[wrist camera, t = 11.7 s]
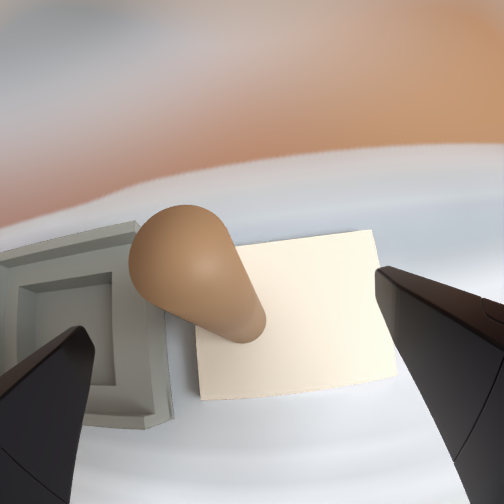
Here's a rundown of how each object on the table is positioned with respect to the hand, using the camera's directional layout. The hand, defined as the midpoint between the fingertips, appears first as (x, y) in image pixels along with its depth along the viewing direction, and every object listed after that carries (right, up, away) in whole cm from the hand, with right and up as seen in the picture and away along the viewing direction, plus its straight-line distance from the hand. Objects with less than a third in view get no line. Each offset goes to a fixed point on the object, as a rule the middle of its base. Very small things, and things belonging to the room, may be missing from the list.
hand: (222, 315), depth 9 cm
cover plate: (+3, -2, +8) cm, 9 cm away
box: (-10, -4, +9) cm, 13 cm away
